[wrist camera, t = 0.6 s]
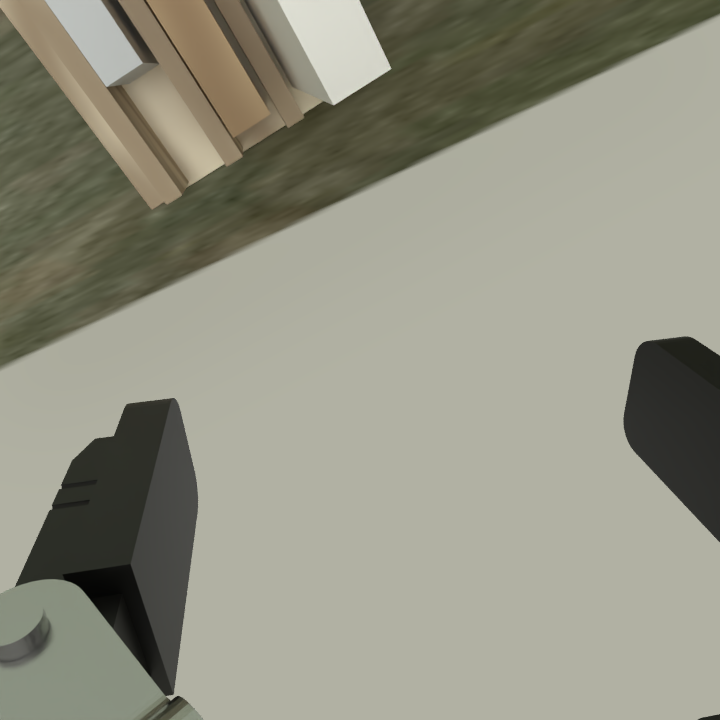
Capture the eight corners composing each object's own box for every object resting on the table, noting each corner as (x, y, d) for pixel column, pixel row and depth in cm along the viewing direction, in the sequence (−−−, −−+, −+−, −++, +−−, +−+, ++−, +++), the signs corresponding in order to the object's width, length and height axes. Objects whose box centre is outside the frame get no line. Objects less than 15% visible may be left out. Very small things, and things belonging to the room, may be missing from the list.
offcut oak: (152, -88, 29) (122, -137, 22) (265, 104, 34) (270, 114, 27) (119, -65, 29) (78, -107, 22) (236, 123, 34) (233, 137, 27)
